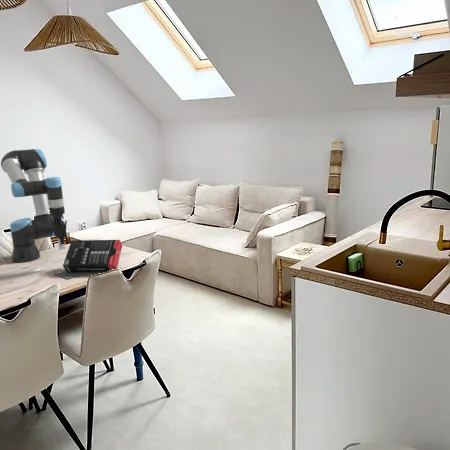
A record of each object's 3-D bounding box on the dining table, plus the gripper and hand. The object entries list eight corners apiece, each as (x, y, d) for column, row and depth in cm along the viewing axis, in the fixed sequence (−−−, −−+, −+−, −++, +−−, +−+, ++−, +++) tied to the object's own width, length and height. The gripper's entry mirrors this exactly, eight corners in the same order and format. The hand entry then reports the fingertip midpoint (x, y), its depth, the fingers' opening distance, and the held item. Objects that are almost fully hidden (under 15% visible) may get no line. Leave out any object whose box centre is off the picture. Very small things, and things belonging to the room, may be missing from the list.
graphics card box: (66, 273, 221) (117, 273, 219) (61, 266, 216) (114, 265, 214) (74, 247, 232) (123, 246, 230) (70, 239, 226) (120, 238, 225)
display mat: (54, 274, 219) (54, 274, 219) (89, 263, 235) (89, 263, 235) (67, 279, 211) (67, 279, 211) (103, 267, 227) (103, 267, 227)
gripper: (43, 206, 225) (49, 249, 230) (56, 209, 217) (62, 253, 222) (56, 204, 230) (62, 245, 236) (69, 206, 222) (75, 249, 228)
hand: (62, 249), depth 229 cm, fingers closed
